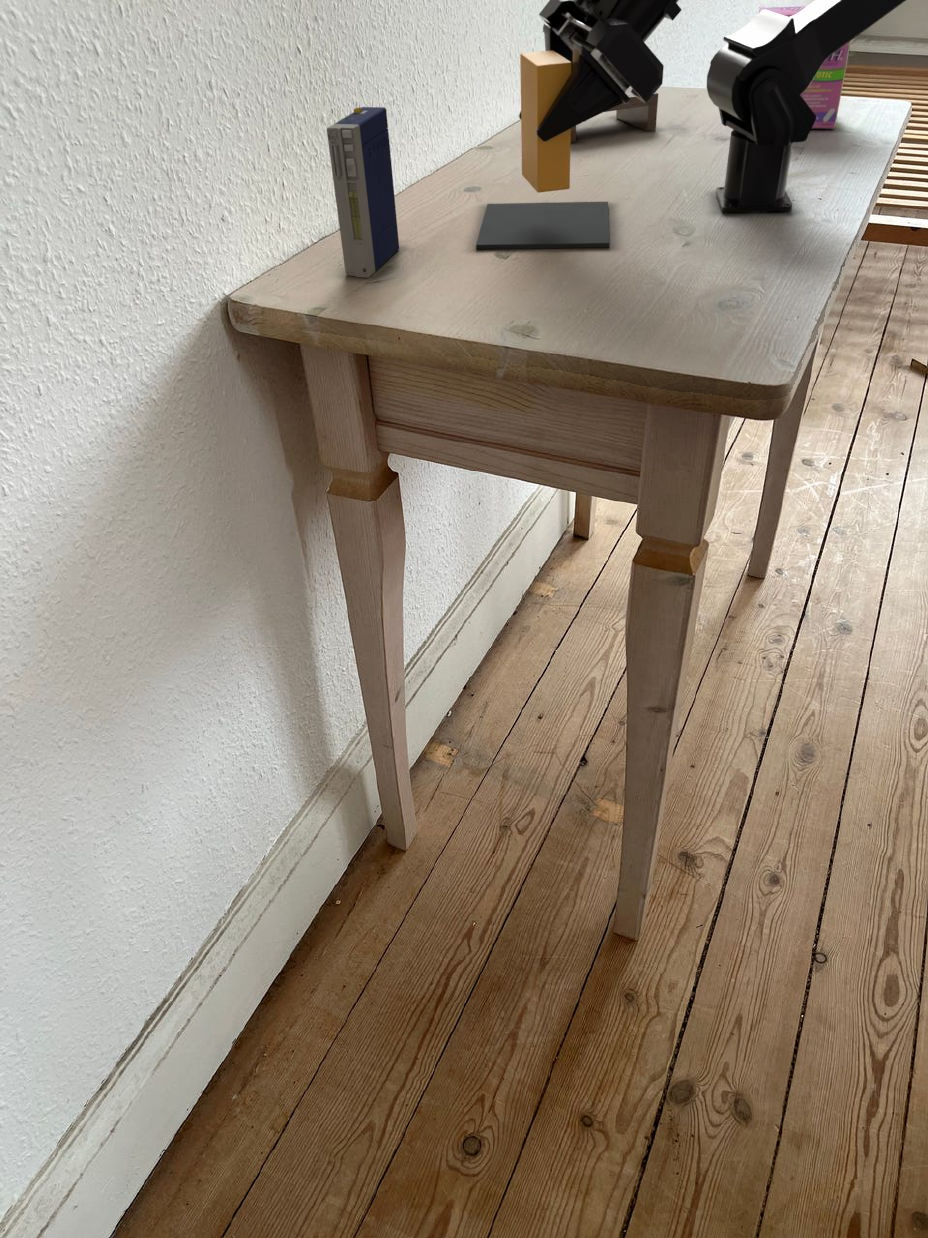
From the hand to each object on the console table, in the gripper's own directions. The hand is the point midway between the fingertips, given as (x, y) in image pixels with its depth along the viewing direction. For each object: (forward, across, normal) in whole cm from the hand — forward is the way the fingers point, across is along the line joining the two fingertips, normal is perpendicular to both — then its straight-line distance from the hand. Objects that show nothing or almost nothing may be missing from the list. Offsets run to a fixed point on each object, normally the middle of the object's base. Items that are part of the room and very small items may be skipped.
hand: (530, 128), depth 83 cm
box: (-21, -26, +34) cm, 47 cm away
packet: (+2, 0, +4) cm, 5 cm away
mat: (+5, 0, +7) cm, 9 cm away
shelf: (-6, -33, +18) cm, 38 cm away
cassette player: (+17, +4, -5) cm, 18 cm away
